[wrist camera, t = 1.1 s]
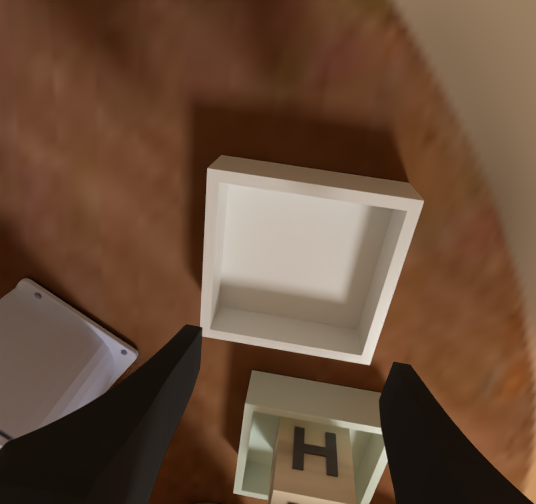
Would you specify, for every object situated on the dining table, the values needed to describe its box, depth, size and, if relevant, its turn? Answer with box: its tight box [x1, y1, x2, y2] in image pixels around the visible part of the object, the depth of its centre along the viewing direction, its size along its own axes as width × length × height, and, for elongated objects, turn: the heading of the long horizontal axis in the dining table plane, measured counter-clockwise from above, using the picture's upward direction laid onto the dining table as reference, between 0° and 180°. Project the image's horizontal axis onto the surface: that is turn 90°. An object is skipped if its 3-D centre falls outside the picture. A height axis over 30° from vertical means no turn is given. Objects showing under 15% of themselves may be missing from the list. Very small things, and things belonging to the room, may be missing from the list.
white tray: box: [200, 155, 424, 365], centre depth 21 cm, size 10×10×3 cm
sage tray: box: [233, 370, 388, 504], centre depth 28 cm, size 10×10×3 cm
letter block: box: [267, 416, 357, 504], centre depth 26 cm, size 5×5×6 cm
